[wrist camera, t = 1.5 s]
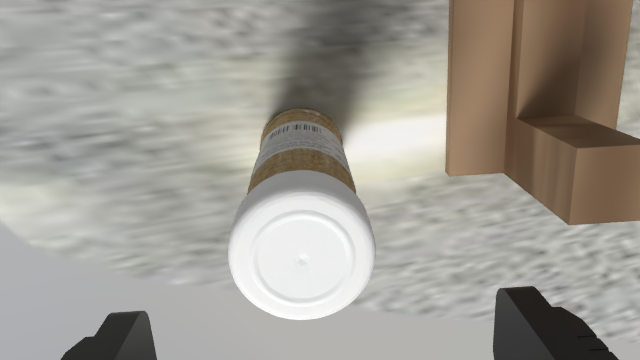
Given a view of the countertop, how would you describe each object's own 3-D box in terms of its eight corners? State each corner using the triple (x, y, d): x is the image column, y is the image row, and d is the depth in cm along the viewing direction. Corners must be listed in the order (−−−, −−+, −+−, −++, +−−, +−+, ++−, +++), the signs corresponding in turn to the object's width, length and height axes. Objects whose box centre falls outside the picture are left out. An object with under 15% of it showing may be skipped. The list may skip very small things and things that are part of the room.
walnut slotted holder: (445, 171, 29) (497, 229, 21) (451, -84, 24) (518, -127, 17) (602, 161, 29) (711, 215, 21) (635, -95, 25) (784, -142, 17)
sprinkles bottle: (255, 179, 28) (217, 316, 16) (266, 99, 27) (233, 178, 14) (335, 190, 29) (362, 334, 16) (350, 112, 27) (392, 200, 15)
